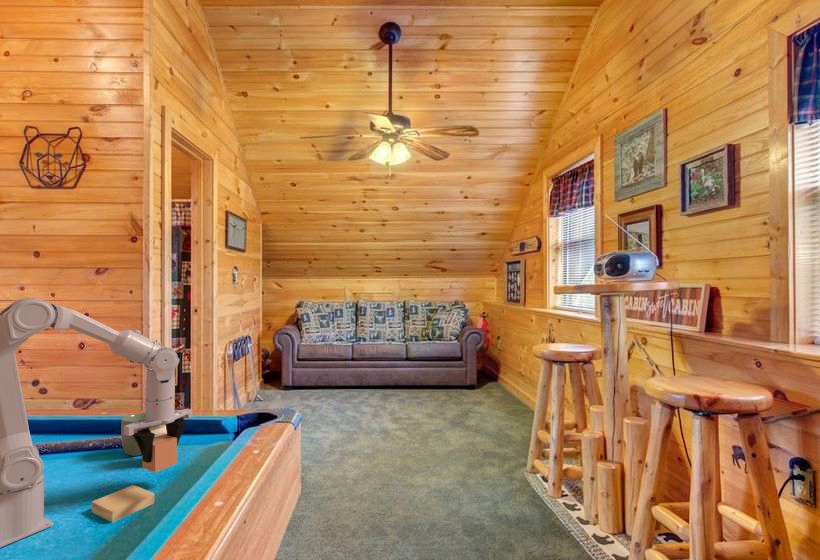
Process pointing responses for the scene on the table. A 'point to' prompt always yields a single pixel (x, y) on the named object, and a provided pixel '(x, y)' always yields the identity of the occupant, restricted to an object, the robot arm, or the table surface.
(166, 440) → the terracotta block
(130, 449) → the cup
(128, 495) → the maple slab
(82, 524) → the table surface
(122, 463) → the table surface
